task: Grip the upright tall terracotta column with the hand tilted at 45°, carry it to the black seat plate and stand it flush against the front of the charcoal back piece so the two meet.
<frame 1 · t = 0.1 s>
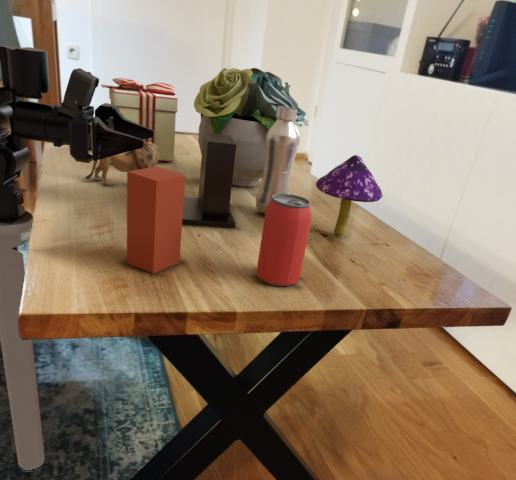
hand: (149, 138, 83), 14 cm above the table, tool horizontal, fingers open, 9 cm apart
lion figurine: (124, 185, 107), on the table
gift box: (138, 153, 133), on the table
beer can: (277, 279, 76), on the table
flower arrangement: (238, 183, 122), on the table
seat plate: (183, 212, 97), on the table
decorative mushroom: (338, 236, 98), on the table
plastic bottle: (270, 215, 104), on the table
tall terracotta column: (153, 263, 75), on the table
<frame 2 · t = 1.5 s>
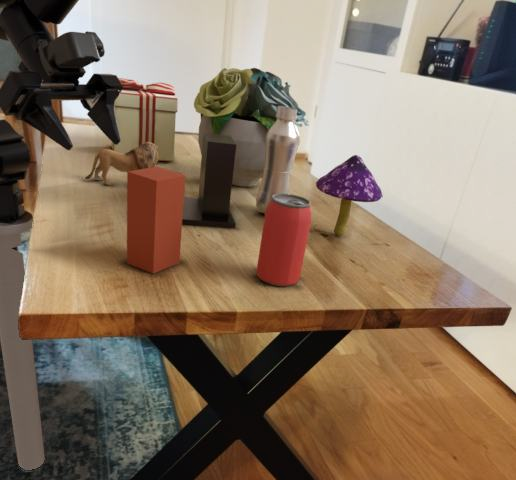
hand: (95, 145, 74), 14 cm above the table, tool tilted 45°, fingers open, 9 cm apart
nothing on the table moved.
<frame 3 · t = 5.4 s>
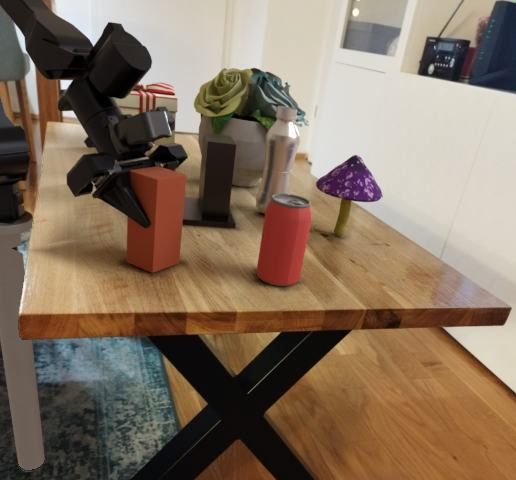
hand: (163, 221, 71), 7 cm above the table, tool tilted 45°, fingers closed on tall terracotta column, 6 cm apart
tall terracotta column: (153, 262, 75), on the table, touching gripper
everything else where it was.
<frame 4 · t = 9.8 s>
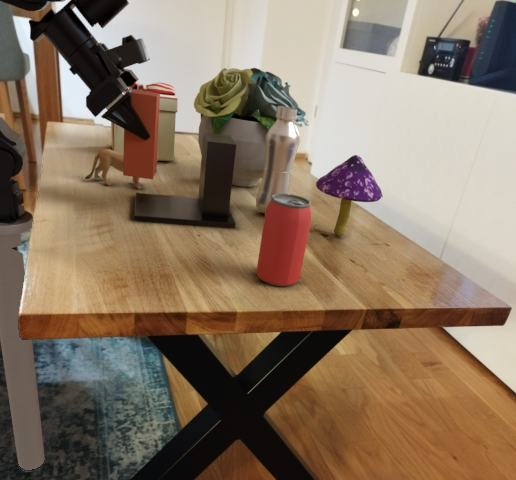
hand: (149, 135, 86), 14 cm above the table, tool tilted 45°, fingers closed on tall terracotta column, 6 cm apart
tall terracotta column: (140, 173, 89), point 7 cm above the table, touching gripper
everything else where it was.
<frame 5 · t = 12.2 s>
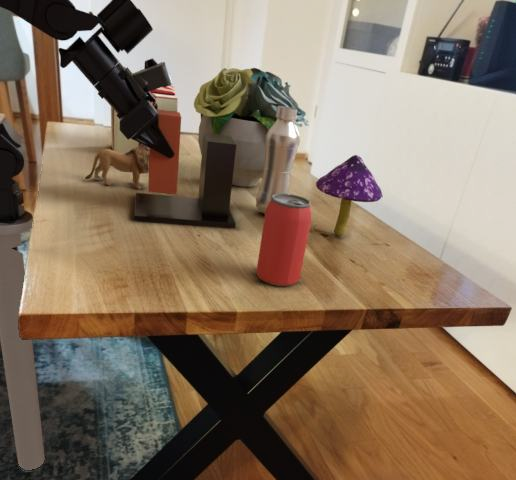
hand: (171, 152, 90), 11 cm above the table, tool tilted 45°, fingers closed on tall terracotta column, 6 cm apart
tall terracotta column: (162, 189, 93), point 4 cm above the table, touching gripper
everything else where it was.
when the fingers open (8 cm above the table, at t = 14.2 s): tall terracotta column stays where it is, resting on seat plate.
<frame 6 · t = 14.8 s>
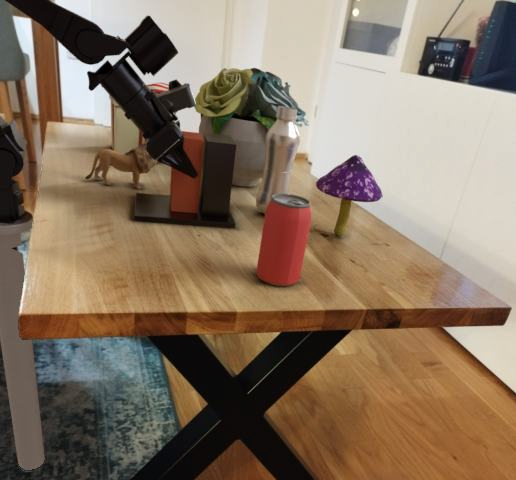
hand: (194, 170, 93), 8 cm above the table, tool tilted 45°, fingers open, 9 cm apart
tall terracotta column: (183, 207, 96), point 1 cm above the table, touching seat plate
everything else where it was.
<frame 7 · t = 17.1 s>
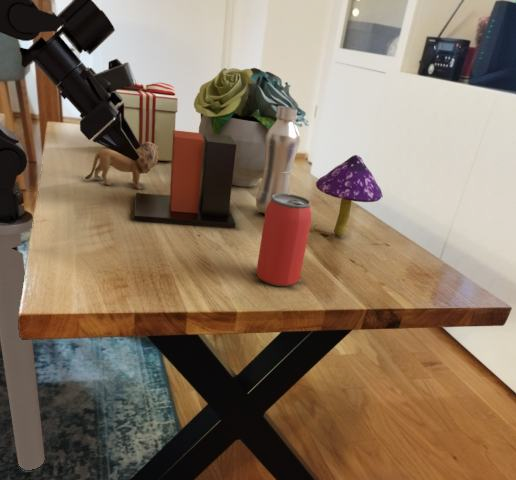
hand: (138, 153, 90), 10 cm above the table, tool tilted 45°, fingers open, 9 cm apart
nothing on the table moved.
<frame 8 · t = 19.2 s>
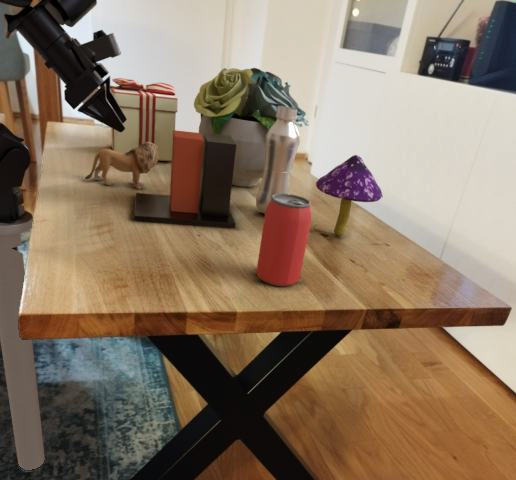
hand: (124, 125, 90), 14 cm above the table, tool tilted 45°, fingers open, 9 cm apart
nothing on the table moved.
at the end: tall terracotta column 0.1 cm off-centre on the seat plate, point 1.0 cm above the seat plate's base; tall terracotta column tilted 0°; the gripper is holding nothing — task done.
